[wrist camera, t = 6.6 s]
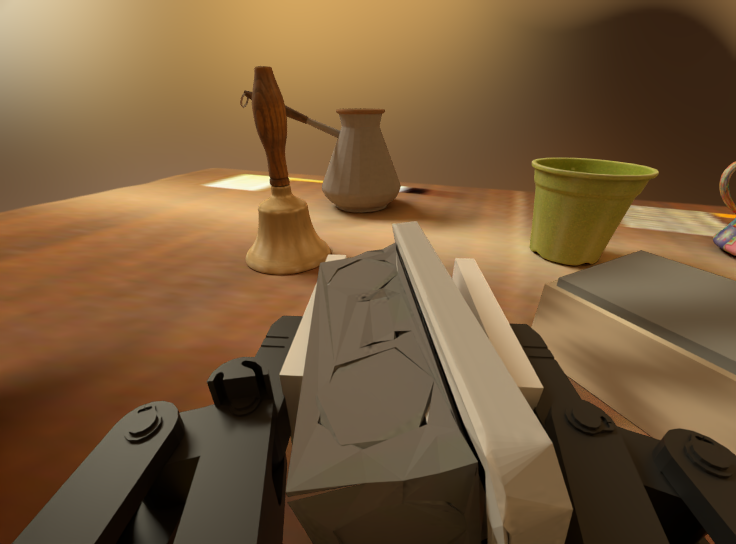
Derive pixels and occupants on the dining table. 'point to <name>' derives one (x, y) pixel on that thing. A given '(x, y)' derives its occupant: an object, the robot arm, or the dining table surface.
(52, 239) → the dining table surface
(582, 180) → the plant pot
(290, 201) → the hand bell
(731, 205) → the mug
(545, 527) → the electrical switch
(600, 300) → the birch stand
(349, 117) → the coffee pot
